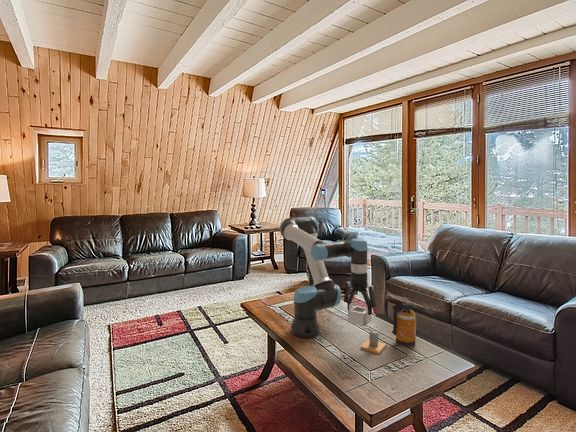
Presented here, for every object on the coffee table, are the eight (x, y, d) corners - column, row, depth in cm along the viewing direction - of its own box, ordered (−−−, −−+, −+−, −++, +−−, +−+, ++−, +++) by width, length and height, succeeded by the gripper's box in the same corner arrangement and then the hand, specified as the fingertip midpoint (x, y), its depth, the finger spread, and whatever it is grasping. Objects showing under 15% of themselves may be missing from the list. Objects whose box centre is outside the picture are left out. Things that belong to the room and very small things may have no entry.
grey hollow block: (347, 322, 163) (347, 310, 162) (355, 317, 169) (355, 305, 168) (363, 326, 158) (363, 313, 157) (370, 321, 164) (370, 308, 164)
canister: (416, 348, 163) (418, 307, 161) (392, 346, 165) (393, 305, 163) (413, 339, 172) (415, 300, 170) (390, 337, 174) (391, 299, 172)
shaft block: (360, 348, 163) (361, 333, 162) (368, 341, 170) (368, 326, 169) (379, 354, 158) (379, 338, 157) (386, 346, 165) (386, 331, 164)
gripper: (335, 270, 165) (336, 316, 167) (377, 276, 152) (377, 326, 154) (343, 267, 171) (343, 312, 172) (383, 273, 158) (383, 321, 160)
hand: (359, 319), depth 163 cm, fingers closed on grey hollow block, 8 cm apart
